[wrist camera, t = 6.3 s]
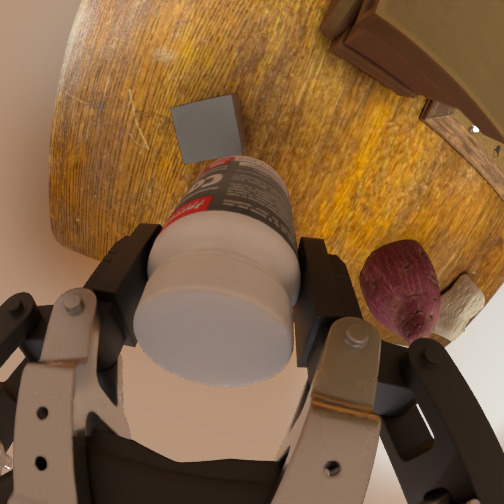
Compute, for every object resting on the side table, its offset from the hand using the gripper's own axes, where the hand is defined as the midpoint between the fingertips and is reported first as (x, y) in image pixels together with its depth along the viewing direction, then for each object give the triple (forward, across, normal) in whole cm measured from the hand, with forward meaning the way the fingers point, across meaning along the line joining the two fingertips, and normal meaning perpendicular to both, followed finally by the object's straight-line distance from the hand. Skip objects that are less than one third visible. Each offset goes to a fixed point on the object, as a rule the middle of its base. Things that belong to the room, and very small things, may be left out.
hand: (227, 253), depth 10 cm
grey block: (+19, +4, -2) cm, 19 cm away
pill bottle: (+5, 0, 0) cm, 5 cm away
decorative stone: (+19, -34, +19) cm, 43 cm away
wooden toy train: (+19, -12, -17) cm, 28 cm away
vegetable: (+19, -20, +14) cm, 31 cm away
